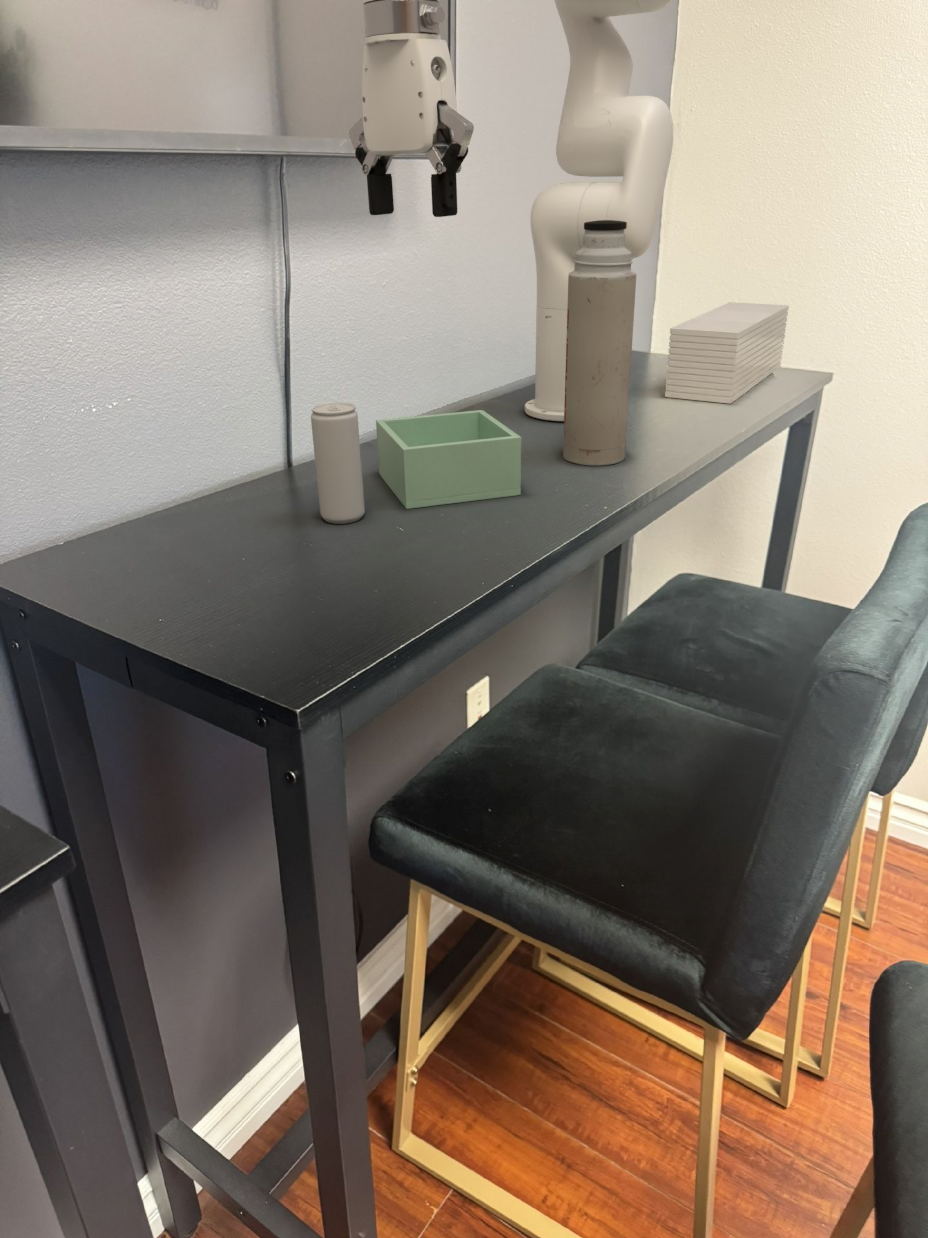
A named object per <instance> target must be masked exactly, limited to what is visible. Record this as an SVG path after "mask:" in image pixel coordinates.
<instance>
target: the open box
mask: <svg viewBox="0 0 928 1238" xmlns="http://www.w3.org/2000/svg"><path fill="white" fill-rule="evenodd" d="M375 426H376V427H375V428H376V441H377V442H376V443H377V444H376V445H377V458H378V474H379V476H380V477H381V478H382V480H383V481H384V482H385V484H386V485H387V486H388V487H389V489H390V490H391V492H392V493H393V494H394V496H395V497H396V498H397V499H398V500H399V501H400V504H402V506H403V507H404V508H405V509H406V510H410V509H418V508H425V507H426V508H427V507H436V506H442V505H451V504H456V503H457V504H458V503H466V502H474V501H483V500H490V499H499V498H508V497H514V496H515V497H516V496H521V494H522V492H521V491H522V437H521V436H520V435H519V434H517V433H516V432H515V431H513V430H512V429H510V428H509V427H508V426H506V425H505V424H503V423H501V422H500V421H499V420H497V419H496V418H494V417H493V415H490V414H489V413H487V412H486V411H485V410H483V409H477V410H467V411H456V412H446V413H436V414H435V413H434V414H425V415H416V416H405V417H394V418H385V419H376V420H375Z"/></svg>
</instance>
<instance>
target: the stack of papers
mask: <svg viewBox="0 0 928 1238" xmlns="http://www.w3.org/2000/svg"><path fill="white" fill-rule="evenodd" d="M789 308H790V305H789V304H773V303H772V304H770V303H750V302H731V301H730V302H727V303H724V304H722V305H720V306H717V307H716V308H713V309H711V310H709V311H706V312H705V313H702V314H699V315H697V316H695V317H693V318H690V319H689V320H685V321H684V322H682V323H679V324H677V325H675V326H672V327H670V329H669V334H670V335H669V343H668V347H669V348H668V354H667V366H666V379H665V392H664V397H665V398H671V399H672V398H673V399H680V400H681V399H682V400H689V401H690V400H691V401H701V402H710V403H711V402H712V403H720V404H721V403H722V404H732V403H734V402H735V401H736V400H738V399H739V398H741V396H743V395H744V394H746V393H747V392H748V391H750V390H752V389H753V388H754V387H755V386H757V385H758V384H760V383H761V382H762V381H763V380H765V379H766V378H767V377H769V376H770V375H772V374H773V373H774V372H775V371H777V370H778V369H779V368H781V366H782V359H783V352H784V344H785V337H786V330H787V329H786V328H787V322H788V315H789V312H788V311H789Z"/></svg>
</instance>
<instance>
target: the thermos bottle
mask: <svg viewBox="0 0 928 1238" xmlns="http://www.w3.org/2000/svg"><path fill="white" fill-rule="evenodd" d="M626 227H627V222H623V221H615V220H599V221H591V222H585V223H584V229H585V234H584V235H583V247H582V248H581V249H580V250H579V251H577V252H576V253H575V260H574V263H575V269H574V271H572V272H570V273H569V275H568V306H567V339H566V372H565V405H564V421H563V437H562V438H563V440H562V441H563V444H562V458H563V459H564V460H565V461H567V462H568V463H569V462H570V463H573V464H576V465H581V466H595V467H596V466H598V467H599V466H600V467H601V466H610V465H615V464H618V463H621V462H623V461H624V460H625V458H626V449H627V434H628V433H627V432H628V418H629V416H628V415H629V391H630V381H631V379H630V378H631V369H632V368H631V367H632V354H633V353H632V352H633V337H634V336H633V335H634V323H635V322H634V320H635V319H634V318H635V304H636V303H635V302H636V287H637V272H636V271H634V270H632V264H633V259H634V258H632V253H631V252H630V251H629V250H628V249H626V248H625V234H624V229H626Z"/></svg>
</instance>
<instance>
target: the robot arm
mask: <svg viewBox="0 0 928 1238" xmlns="http://www.w3.org/2000/svg"><path fill="white" fill-rule="evenodd" d="M672 2H673V0H554V3H555V7H556V9H557V12H558V16H559V19H560V22H561V25H562V28H563V31H564V35H565V39H566V42H567V46H568V52H569V64H570V65H569V72H568V77H567V84H566V89H565V95H564V100H563V105H562V109H561V116H560V121H559V126H558V132H557V138H556V145H555V146H556V147H555V155H556V161H557V164H558V166H559V167H560V168H561V170H562V171H563V172H565V173H566V174H569V175H572V176H575V177H590V178H592V177H593V178H594V177H595V178H598V177H599V178H603V177H605V178H607V177H609V178H611V177H614V178H615V177H617V178H618V177H622V181H620V182H618V181H617V182H614V181H613V182H597V181H579V182H578V181H574V182H573V181H572V182H562V183H557V184H553V185H550V186H548V187H546V188H545V189H542V191H541V192H540V193H539V194H538V195H536V197H535V199H534V201H533V203H532V206H531V210H530V211H531V212H530V231H531V238H532V243H533V245H532V246H533V251H534V257H535V269H536V270H535V272H536V310H535V311H536V313H535V314H536V315H535V316H536V319H535V374H534V375H535V378H534V380H535V381H534V382H535V383H534V398H533V399H530V400H528V401H526V403H525V404H524V413H525V414H526V415H527V416H528V417H532V418H534V419H539V420H543V421H550V422H564V405H565V372H566V339H567V306H568V275H569V273H570V272H572V271H574V269H575V263H574V260H575V253H576V252H577V251H579V250H580V249H581V248H582V247H583V235H584V234H585V229H584V223H585V222H591V221H599V220H615V221H623V222H627V227H626V229H624V234H625V248H626V249H628V250H629V251H630V252H631V253H632V258H633V259H636V258H639V257H641V256H643V255H644V254H645V253H646V252H647V251H648V250H649V248H650V246H651V244H652V242H653V239H654V236H655V232H656V229H657V225H658V220H659V216H660V211H661V206H662V202H663V197H664V192H665V187H666V183H667V178H668V174H669V168H670V163H671V159H672V152H673V145H674V123H673V116H672V113H671V109H670V108H669V106H668V104H667V103H666V102H665V101H663V99H661V98H660V97H657V96H653V95H630V96H629V93H630V89H631V88H630V87H631V81H632V76H633V71H634V70H633V68H634V66H633V64H634V63H633V58H632V55H631V53H630V50H629V48H628V45H627V44H626V42H625V41H624V39H623V38H622V36H621V34H620V33H619V31H618V30H617V28H616V27H615V26H614V24H613V22H612V20H611V18H610V17H618V16H629V15H636V14H637V15H638V14H646V13H652V12H657V11H661V10H663V9H664V8H666V7H667V6H669V5H670V4H671V3H672ZM362 4H363V7H362V8H363V9H362V10H363V19H364V21H363V23H364V34H365V35H364V37H365V38H364V39H365V45H364V46H363V54H362V56H363V57H362V70H361V71H362V72H361V77H362V78H361V110H362V111H361V112H362V117H360V119H359V120H358V121H357V122H356V123H355V124H354V125H353V126H352V127H351V128H350V129H349V131H348V136H349V139H350V141H351V144H352V146H353V149H354V150H355V151H354V155H355V157H356V159H357V161H358V162H359V165H361V172H362V174H363V175H365V176H366V183H367V199H368V211H369V212H368V213H369V215H371V216H382V215H391V214H393V213H394V211H395V204H394V203H395V202H394V189H393V188H394V187H393V176H392V173H387V172H388V171H389V167H390V166H391V163H392V161H393V159H394V156H395V155H416V154H418V155H419V154H424V155H426V158H427V159H428V161H429V162H430V164H431V166H432V167H433V169H434V171H435V172H436V173H432V174H431V175H430V176H431V177H430V188H431V208H432V209H431V211H432V215H433V217H434V218H442V217H443V218H444V217H452V216H457V215H458V187H457V186H458V185H457V184H458V183H457V174H459V173H461V171H462V164H463V163H464V161H465V159H466V157H467V156H468V153H469V147H468V146H470V143H471V139H472V136H473V134H474V129H475V125H474V123H473V122H471V121H470V120H469V119H467V118H466V117H464V116H463V115H462V114H460V112H458V104H457V103H458V102H457V93H456V85H455V78H454V77H455V76H454V70H453V64H452V59H451V55H450V50H449V46H448V42H447V40H445V39H442V37H441V36H442V35H441V24H442V23H443V22H444V20H445V11H444V9H443V8H442V7H441V6H440V0H362Z"/></svg>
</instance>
